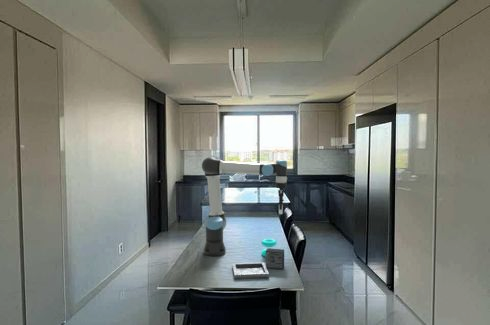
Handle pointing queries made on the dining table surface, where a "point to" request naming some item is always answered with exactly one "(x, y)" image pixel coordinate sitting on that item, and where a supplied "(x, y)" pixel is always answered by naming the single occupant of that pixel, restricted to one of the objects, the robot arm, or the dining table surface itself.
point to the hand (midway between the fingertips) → (280, 212)
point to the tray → (250, 270)
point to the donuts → (267, 245)
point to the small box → (275, 258)
